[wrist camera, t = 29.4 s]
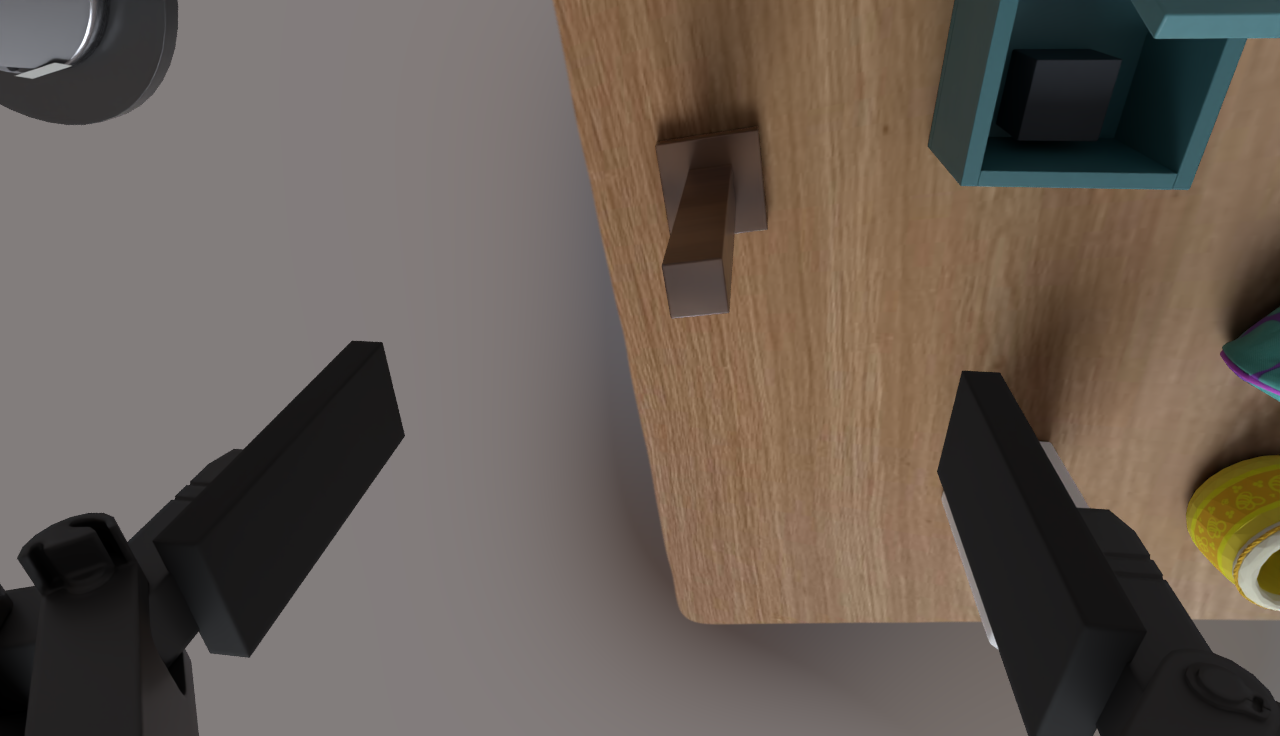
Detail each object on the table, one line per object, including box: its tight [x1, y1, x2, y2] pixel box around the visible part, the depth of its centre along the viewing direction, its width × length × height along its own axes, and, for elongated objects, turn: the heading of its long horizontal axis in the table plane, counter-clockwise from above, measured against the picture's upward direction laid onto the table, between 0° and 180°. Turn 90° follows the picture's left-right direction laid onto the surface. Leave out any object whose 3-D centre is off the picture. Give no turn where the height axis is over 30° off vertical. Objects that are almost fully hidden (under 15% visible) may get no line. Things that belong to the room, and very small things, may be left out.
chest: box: [928, 0, 1247, 190], centre depth 39 cm, size 16×12×9 cm
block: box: [996, 49, 1122, 141], centre depth 42 cm, size 4×4×4 cm
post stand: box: [655, 126, 768, 319], centre depth 43 cm, size 7×7×18 cm
